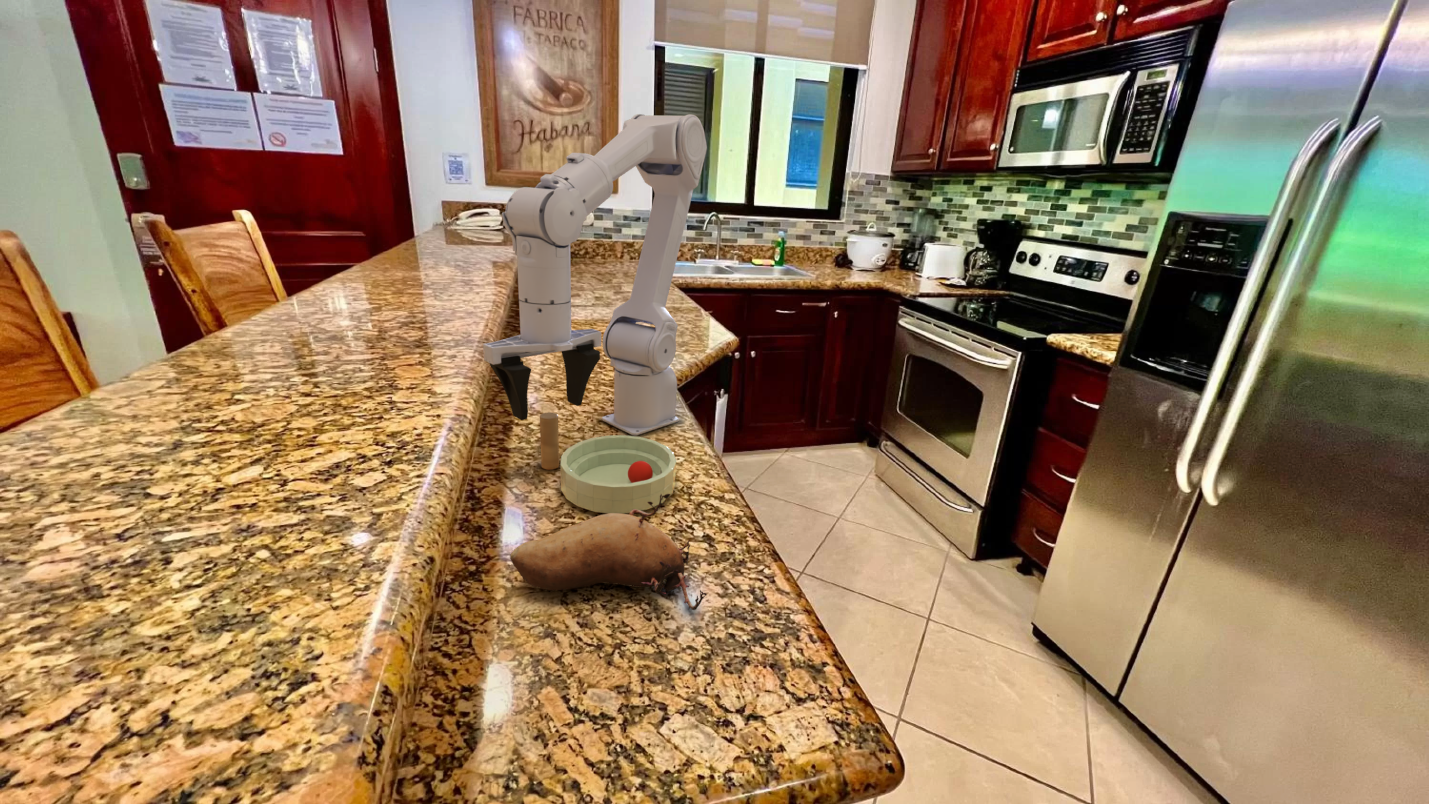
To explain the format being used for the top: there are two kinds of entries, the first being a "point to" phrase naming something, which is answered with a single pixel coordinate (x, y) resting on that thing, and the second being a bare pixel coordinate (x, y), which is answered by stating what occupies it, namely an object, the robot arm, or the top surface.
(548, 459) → the stick
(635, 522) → the vegetable
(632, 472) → the ball
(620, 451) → the bowl
